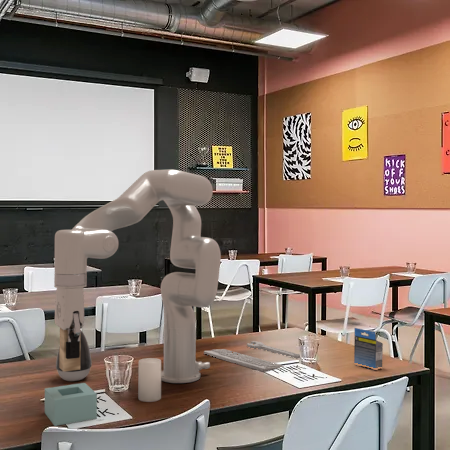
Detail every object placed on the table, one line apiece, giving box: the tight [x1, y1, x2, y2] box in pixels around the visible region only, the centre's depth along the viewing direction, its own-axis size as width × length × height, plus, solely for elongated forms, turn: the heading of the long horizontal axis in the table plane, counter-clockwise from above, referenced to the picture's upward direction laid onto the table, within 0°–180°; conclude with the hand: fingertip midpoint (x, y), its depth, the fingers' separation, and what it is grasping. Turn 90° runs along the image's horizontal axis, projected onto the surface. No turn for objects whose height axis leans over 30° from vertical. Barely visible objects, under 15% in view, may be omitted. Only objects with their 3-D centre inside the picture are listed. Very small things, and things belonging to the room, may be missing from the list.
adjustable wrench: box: [246, 340, 301, 359], centre depth 205 cm, size 25×6×2 cm, turn 36°
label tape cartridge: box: [353, 327, 384, 368], centre depth 186 cm, size 9×4×12 cm, turn 37°
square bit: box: [59, 326, 81, 371], centre depth 139 cm, size 4×4×10 cm
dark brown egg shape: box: [55, 330, 93, 382], centre depth 170 cm, size 10×10×15 cm
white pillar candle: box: [137, 357, 162, 403], centre depth 153 cm, size 6×6×10 cm
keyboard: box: [203, 348, 285, 372], centre depth 193 cm, size 29×10×2 cm, turn 42°
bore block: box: [44, 382, 98, 427], centre depth 139 cm, size 10×10×6 cm
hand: (70, 355), depth 139 cm, fingers closed on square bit, 4 cm apart
